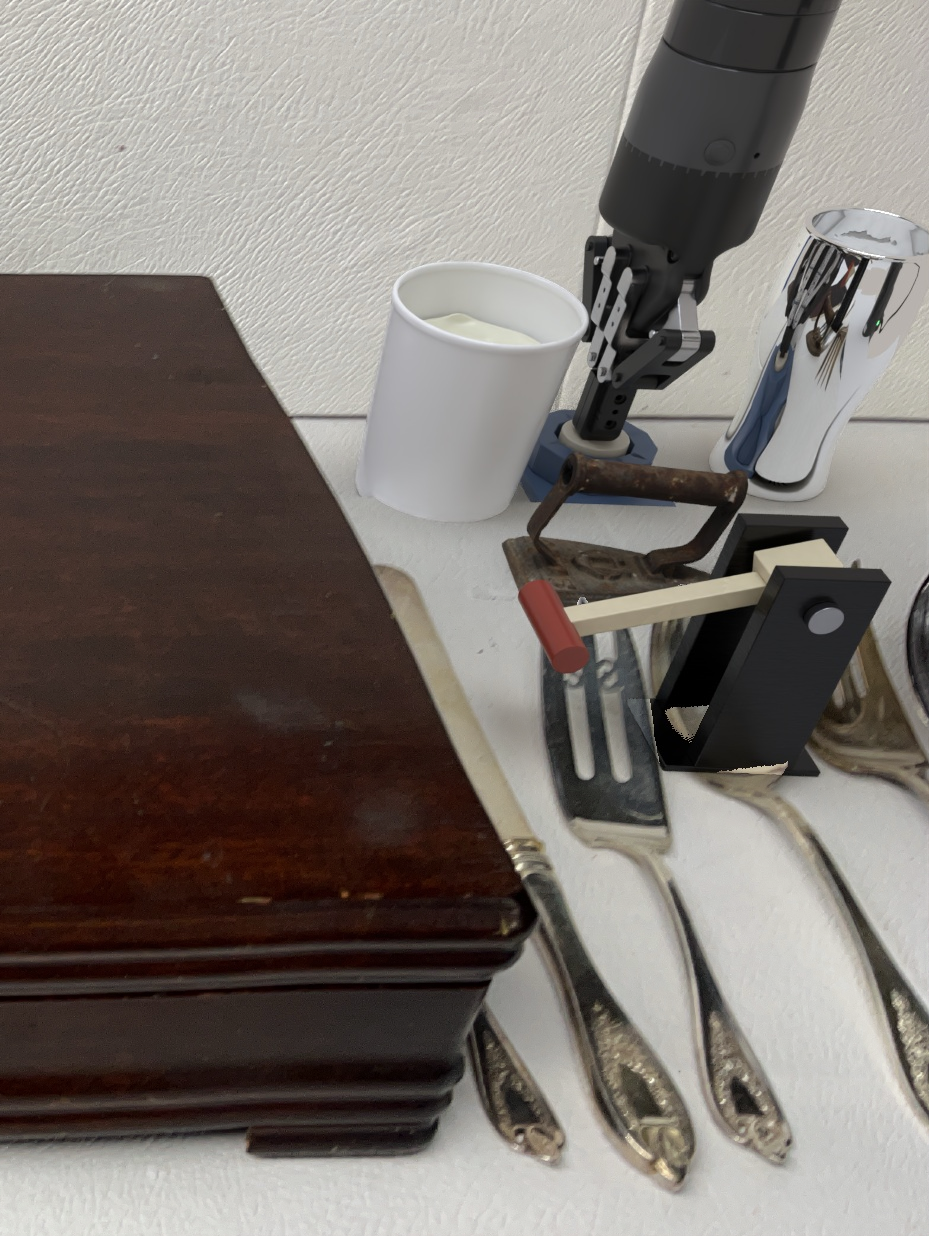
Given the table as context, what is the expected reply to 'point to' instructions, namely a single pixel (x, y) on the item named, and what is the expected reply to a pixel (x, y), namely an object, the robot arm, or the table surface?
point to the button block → (553, 454)
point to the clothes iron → (611, 568)
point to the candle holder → (464, 387)
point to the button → (593, 443)
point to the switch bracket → (766, 653)
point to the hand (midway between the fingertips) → (593, 433)
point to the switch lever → (654, 603)
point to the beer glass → (823, 345)
